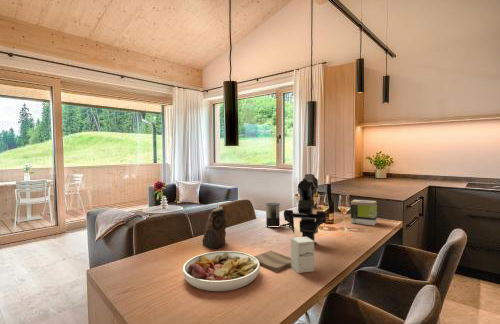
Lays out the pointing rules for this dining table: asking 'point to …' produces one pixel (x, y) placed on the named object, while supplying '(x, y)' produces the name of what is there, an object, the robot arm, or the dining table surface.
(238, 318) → the dining table surface
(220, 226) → the owl
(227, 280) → the bowl
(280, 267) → the walnut board
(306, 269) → the supplement box
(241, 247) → the dining table surface
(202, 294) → the dining table surface
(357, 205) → the tea box
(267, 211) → the milk frother
